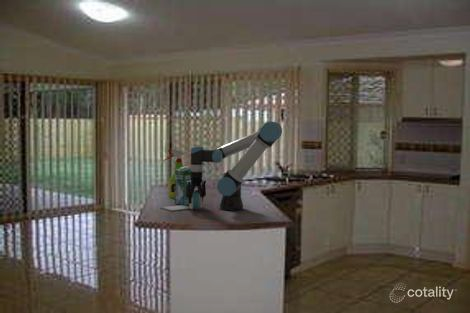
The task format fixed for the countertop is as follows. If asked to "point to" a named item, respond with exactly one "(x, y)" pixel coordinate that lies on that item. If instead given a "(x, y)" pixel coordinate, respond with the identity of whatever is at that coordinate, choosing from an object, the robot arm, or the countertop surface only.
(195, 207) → the teal and grey cylinder
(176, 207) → the writing board
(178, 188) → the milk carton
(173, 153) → the spray bottle
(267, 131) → the robot arm
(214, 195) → the countertop surface
